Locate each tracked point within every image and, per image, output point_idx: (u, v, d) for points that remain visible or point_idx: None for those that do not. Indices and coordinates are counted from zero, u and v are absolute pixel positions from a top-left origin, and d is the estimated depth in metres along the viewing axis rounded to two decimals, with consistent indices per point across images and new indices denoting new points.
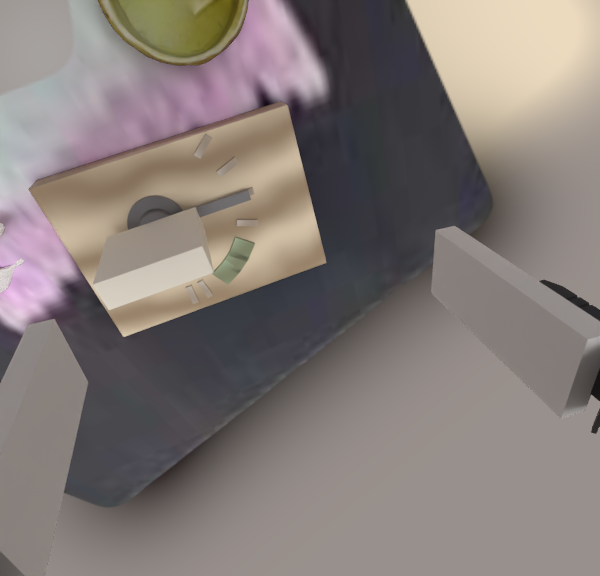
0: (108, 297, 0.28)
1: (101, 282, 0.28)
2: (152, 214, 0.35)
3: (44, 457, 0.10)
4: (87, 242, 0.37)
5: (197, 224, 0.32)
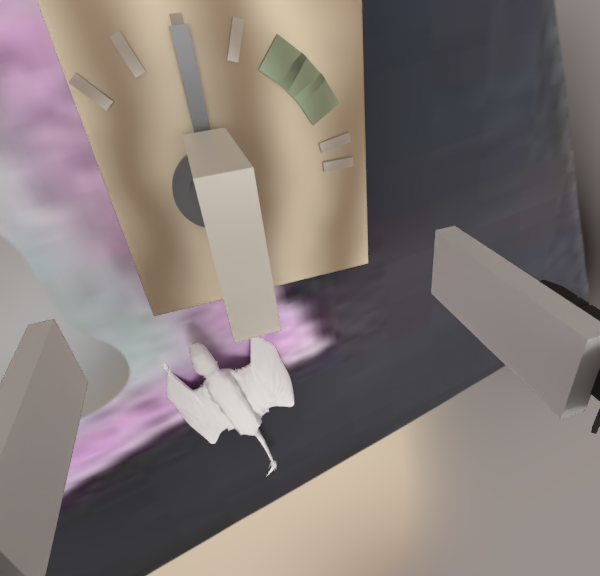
0: (260, 328, 0.19)
1: (233, 332, 0.19)
2: (191, 198, 0.24)
3: (43, 458, 0.10)
4: None
5: (187, 154, 0.18)
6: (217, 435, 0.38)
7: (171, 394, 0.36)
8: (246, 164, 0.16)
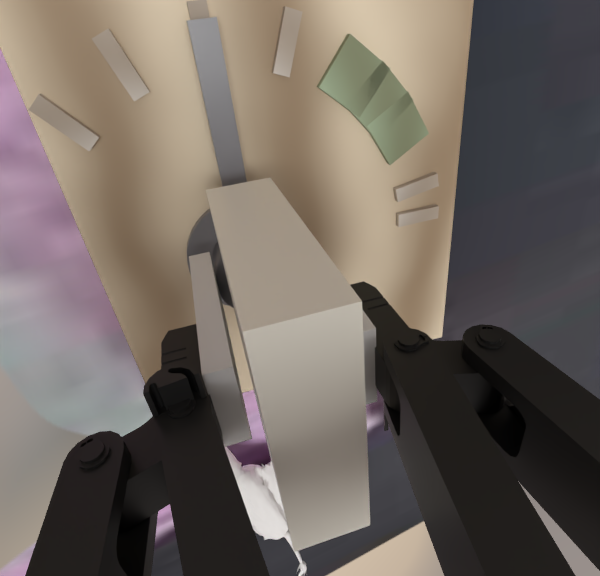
0: (337, 527, 0.11)
1: (293, 540, 0.11)
2: (216, 276, 0.16)
3: (231, 348, 0.13)
4: None
5: (218, 240, 0.11)
6: None
7: None
8: (343, 289, 0.08)
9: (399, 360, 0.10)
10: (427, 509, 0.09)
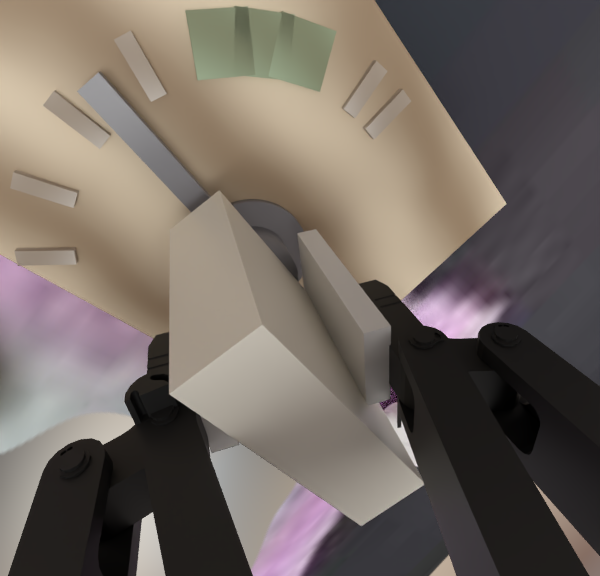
0: (391, 496, 0.12)
1: (353, 517, 0.12)
2: None
3: None
4: None
5: None
6: None
7: None
8: (250, 315, 0.08)
9: (414, 357, 0.10)
10: (439, 506, 0.09)
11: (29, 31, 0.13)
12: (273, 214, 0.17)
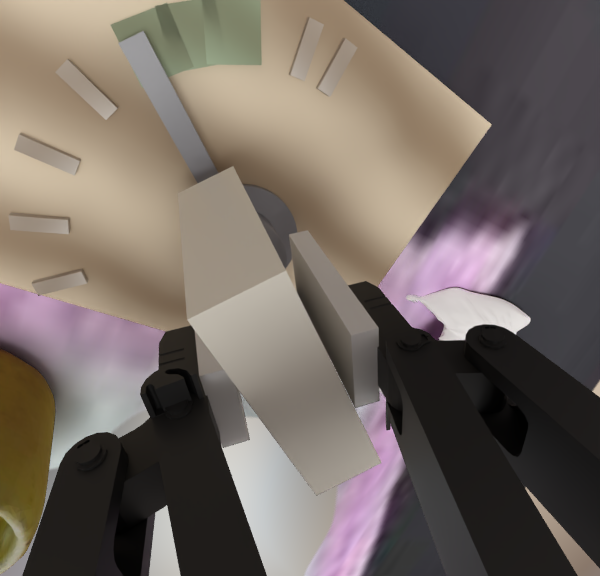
0: (349, 469, 0.12)
1: (311, 485, 0.12)
2: None
3: None
4: None
5: None
6: None
7: None
8: (273, 263, 0.09)
9: (401, 359, 0.10)
10: (429, 509, 0.09)
11: None
12: (272, 203, 0.18)
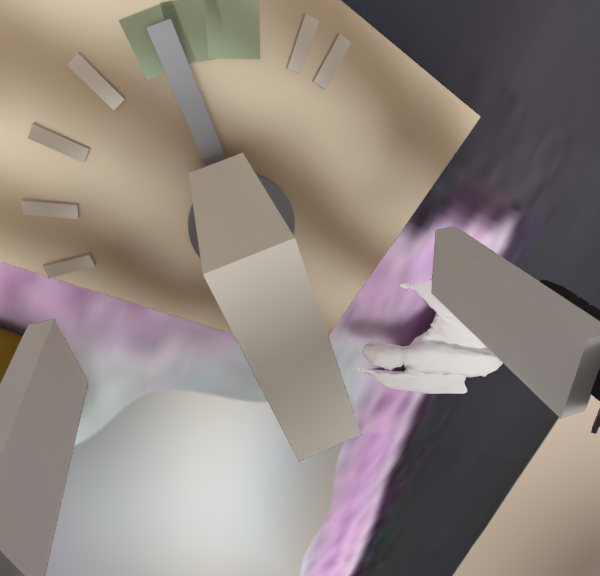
0: (331, 438, 0.13)
1: (295, 450, 0.13)
2: None
3: (44, 457, 0.10)
4: (338, 274, 0.23)
5: None
6: (463, 386, 0.33)
7: (388, 385, 0.32)
8: (282, 232, 0.10)
9: None
10: None
11: None
12: (273, 193, 0.19)
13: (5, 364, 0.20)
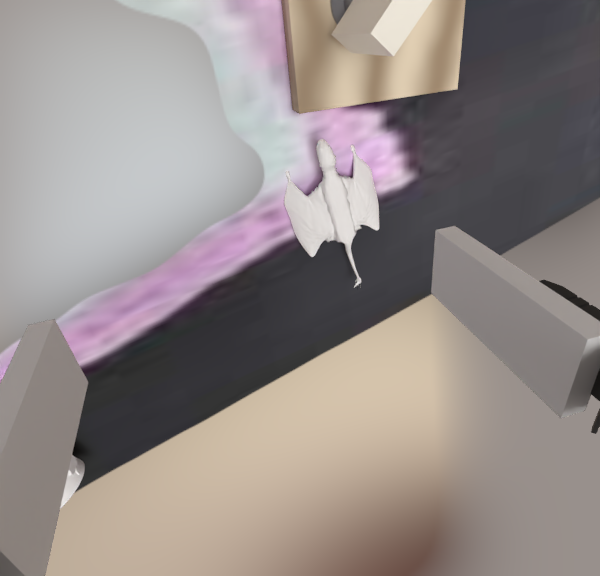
0: (388, 40, 0.27)
1: (376, 25, 0.27)
2: None
3: (43, 457, 0.10)
4: (357, 83, 0.38)
5: None
6: (318, 246, 0.47)
7: (288, 200, 0.44)
8: None
9: None
10: None
11: None
12: None
13: None
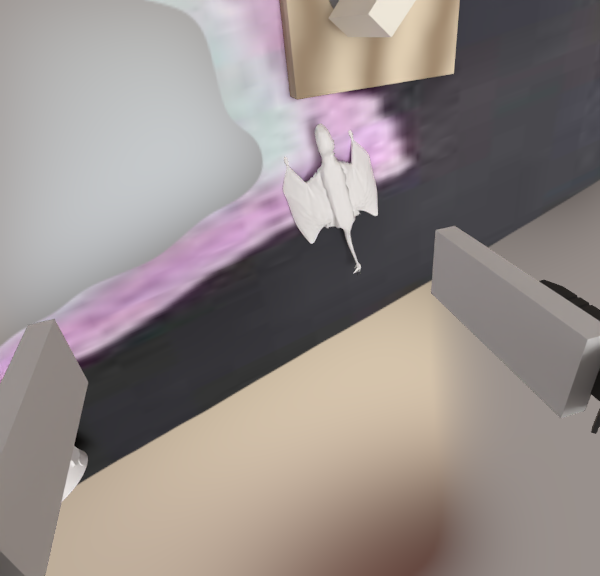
0: (385, 21, 0.27)
1: (374, 6, 0.27)
2: None
3: (43, 458, 0.10)
4: (354, 68, 0.38)
5: None
6: (317, 233, 0.47)
7: (287, 187, 0.45)
8: None
9: None
10: None
11: None
12: None
13: None
